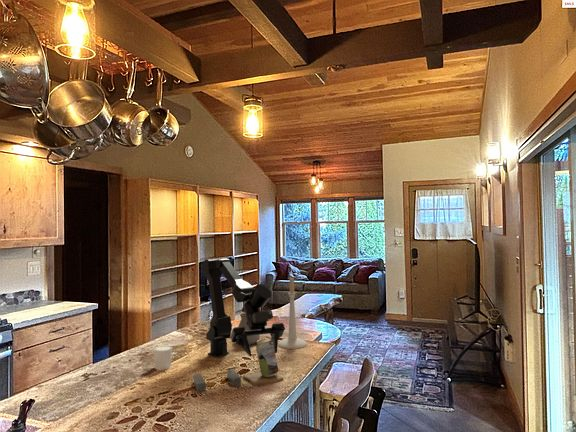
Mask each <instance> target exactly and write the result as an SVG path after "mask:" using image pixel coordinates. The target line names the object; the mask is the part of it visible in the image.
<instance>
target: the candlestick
mask: <svg viewBox="0 0 576 432" xmlns="http://www.w3.org/2000/svg"><path fill="white" fill-rule="evenodd" d="M287 294H288V297H289V311H288V313H289V314H288V315H289V316H288V317H289V318H288V336H287V337H286V338H283V339H280V341H278V347H280V348H283V349H286V350H288V349H289V350H294V349H295V350H296V349H303V348H305V347H307V345H308V343H307V341H306V340H304V339H302V338H298V336H297V326H296V325H297V323H296V310H295V309H296V307H295V297H296V295H295V294H296V292H295V278H294V277H289V292H288V293H287Z"/></svg>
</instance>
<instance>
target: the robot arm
mask: <svg viewBox="0 0 576 432" xmlns="http://www.w3.org/2000/svg"><path fill="white" fill-rule="evenodd" d="M201 269H202V273H203V275H204V277H205V278H206V279H207V281H208V287H209V295H210V302H211V311H212V316H211V319H210V323H209V329H208V331H207V332H206V334H205V337H206V340H207V341H210V342H209V343H210V344H209V345H210V348H209V349H210V352H207V355H208V356H213V357H218V358H220V357H222V356H225V355H228V354H230V351H228V343H227V342H228V340H227V339H230V341H231V343H235V345H239V346H240V348H241V349H243V350H244V352H246V354H247V355H248V356H249V357H250V358H251V357H252V350H251V347H250V345H249V343H248V340H247V336H252V335H259V336H261V335H270V337H271V338H270V339H271V341H272V342H273V344H274V349H275V354H277V353H278V347H279V346H278V343H279V339H280V338H281V337H282V336H283V335H284V332H285V330H286V326H285V324H284V323H283V322H275V323H272V325H271V327H267V326H268V322H269V321H271V320H272V319H273V318H274V315H273V311H272V309H266V310H265V311H261V308H264V306H265V305H266V304H267V303H268V301H269V300H270V298H271V297H272V291H271V290H270V289H269V288H268V287H266V286H264V285H263V284H262V283H258V284H256V285H255V287H254V286H253V285H251V284H250V283H249V282H247V281H245V280H244V279H243V278H242V277H241V276H240V275H239V273H238V271H237V270H236V268H235V267H234V265H232V263H231V260H230V259H229V258H208V259H207V258H206V259H204V261H203V262H202V264H201ZM222 276H224V278H225V280H226V281H227V282H228V284H229V285H230V286H231V288H232V292H231V294H232V295H233V298H234V300H235V302H236V303H244V304H243V307H241V312H243V313H245V315H246V319H247V325H248V327H249V330H245V327H238V326H236V327H233V324H232V319H231V316H228V315H227V314H226V310H225V304H224V297H223V289H222V280H221V278H222Z"/></svg>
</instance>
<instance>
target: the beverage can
mask: <svg viewBox="0 0 576 432" xmlns="http://www.w3.org/2000/svg"><path fill="white" fill-rule="evenodd" d="M255 348H256V353H257V359H258V365H259V369H260V370H259V371H261V375H263V376H264V377H269V376H273V375H275V374H277V373H278V372H279V366H278V361H277V356H276V353H275V349H274V344H273V342H272V341H271V338H265V339H261V340H257V341H256V346H255Z"/></svg>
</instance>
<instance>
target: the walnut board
mask: <svg viewBox="0 0 576 432" xmlns="http://www.w3.org/2000/svg"><path fill="white" fill-rule="evenodd" d="M242 378H243V379H244V380H246V381H248V382H249V383H251V384H253V385H254V386H256V387H263V386H266V385H269V384H274V383H276V382H277V383H278V382H281V381H284V377H283V376H281V375H280V374H275V375H273V376H269V377H264V376H263V375H261V370H259V371H255V372H252V373H247V374H244V375H242Z"/></svg>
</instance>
